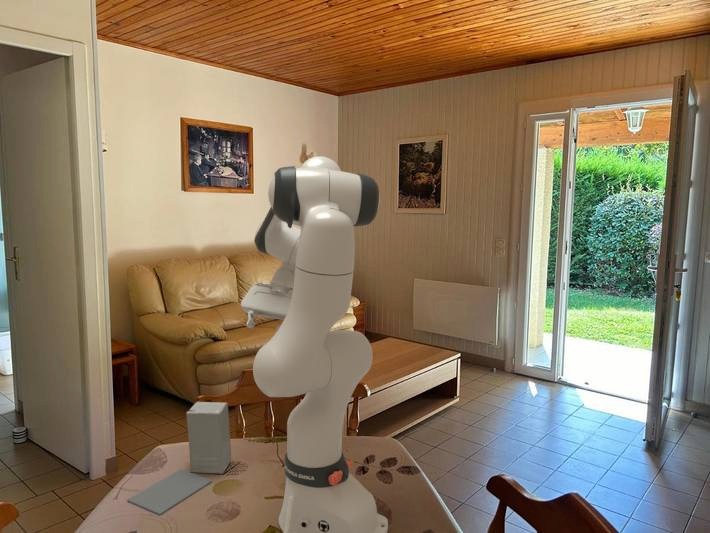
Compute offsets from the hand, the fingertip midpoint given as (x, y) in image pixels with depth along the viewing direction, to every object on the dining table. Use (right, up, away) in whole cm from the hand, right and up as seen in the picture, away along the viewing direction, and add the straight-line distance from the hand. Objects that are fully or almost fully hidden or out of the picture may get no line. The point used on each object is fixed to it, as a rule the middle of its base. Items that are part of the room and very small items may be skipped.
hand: (263, 330), depth 138 cm
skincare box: (-11, -32, -10) cm, 36 cm away
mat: (-17, -33, -21) cm, 43 cm away
